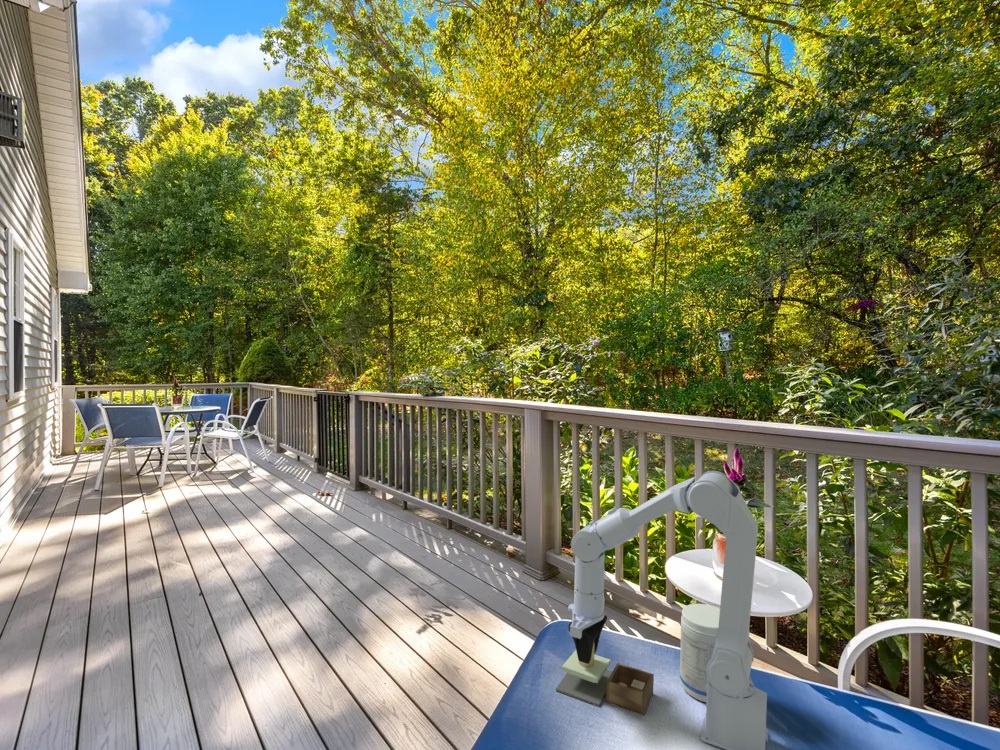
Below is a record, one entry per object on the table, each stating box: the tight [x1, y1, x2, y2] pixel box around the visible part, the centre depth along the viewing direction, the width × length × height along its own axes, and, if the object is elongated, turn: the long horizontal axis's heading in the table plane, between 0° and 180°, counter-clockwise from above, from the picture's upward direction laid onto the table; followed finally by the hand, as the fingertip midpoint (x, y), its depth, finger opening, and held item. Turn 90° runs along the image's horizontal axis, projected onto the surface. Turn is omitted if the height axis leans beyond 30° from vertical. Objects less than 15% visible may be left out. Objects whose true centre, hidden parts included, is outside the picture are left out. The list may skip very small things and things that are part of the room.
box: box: [605, 662, 655, 717], centre depth 94 cm, size 7×7×4 cm
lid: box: [561, 643, 611, 683], centre depth 98 cm, size 7×7×6 cm
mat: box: [555, 668, 613, 707], centre depth 98 cm, size 8×11×1 cm
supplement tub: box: [679, 603, 720, 703], centre depth 96 cm, size 10×10×15 cm
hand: (587, 656), depth 98 cm, fingers closed on lid, 3 cm apart
